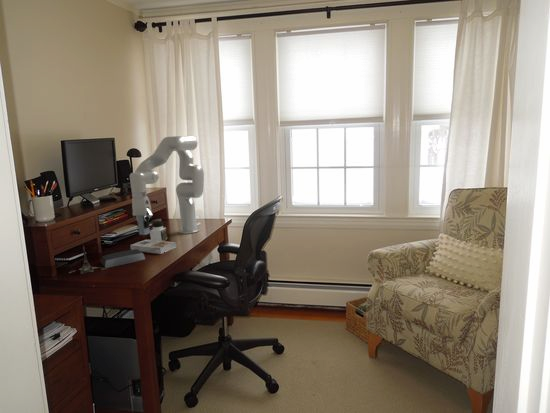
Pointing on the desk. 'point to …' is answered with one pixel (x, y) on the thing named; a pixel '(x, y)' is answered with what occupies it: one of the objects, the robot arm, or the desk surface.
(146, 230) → the peg
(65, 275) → the desk surface
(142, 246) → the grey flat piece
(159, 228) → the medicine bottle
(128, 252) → the external hard drive
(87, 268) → the eiffel tower figurine
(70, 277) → the desk surface
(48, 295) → the desk surface
